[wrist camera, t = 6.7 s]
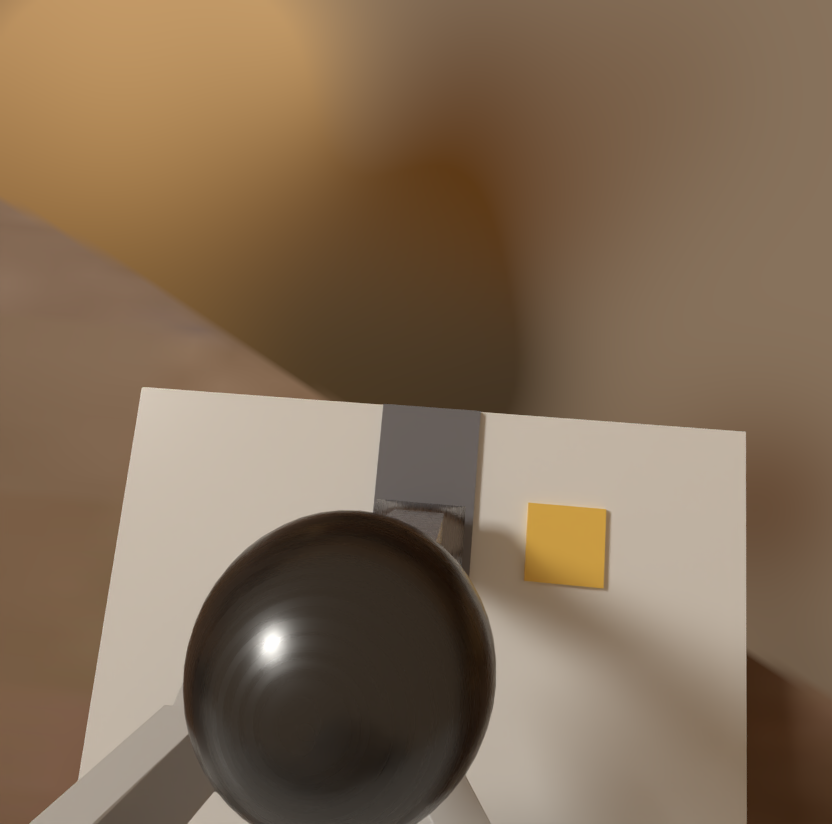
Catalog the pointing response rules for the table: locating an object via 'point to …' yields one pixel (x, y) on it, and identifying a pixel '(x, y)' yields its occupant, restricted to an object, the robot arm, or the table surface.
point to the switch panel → (475, 583)
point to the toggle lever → (342, 669)
